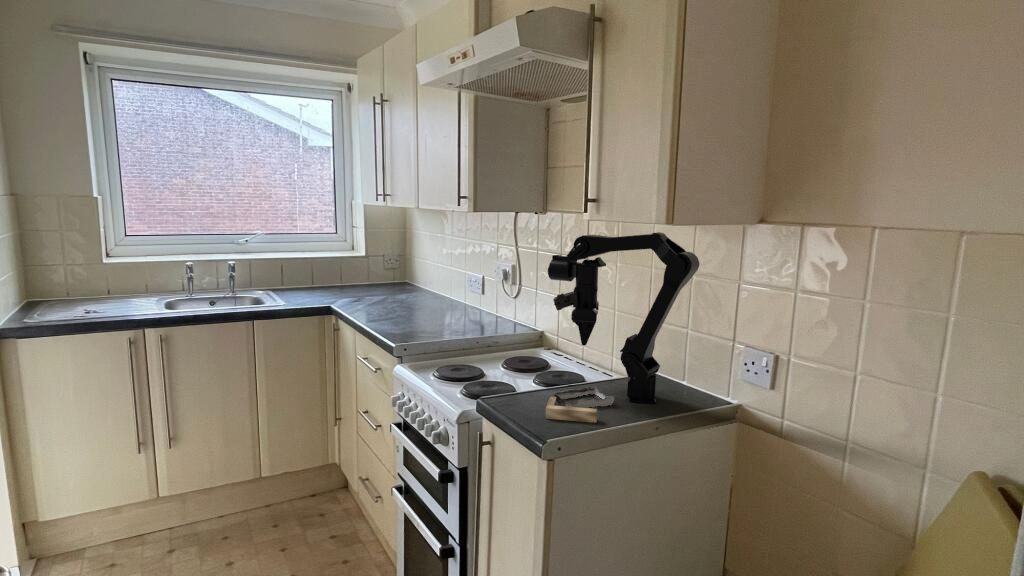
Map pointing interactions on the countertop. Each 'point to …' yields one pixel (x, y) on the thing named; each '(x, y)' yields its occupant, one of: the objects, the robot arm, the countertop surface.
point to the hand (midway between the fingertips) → (584, 341)
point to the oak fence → (569, 412)
